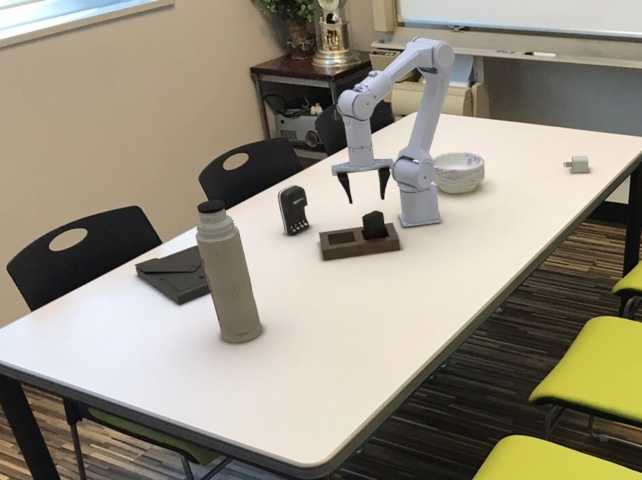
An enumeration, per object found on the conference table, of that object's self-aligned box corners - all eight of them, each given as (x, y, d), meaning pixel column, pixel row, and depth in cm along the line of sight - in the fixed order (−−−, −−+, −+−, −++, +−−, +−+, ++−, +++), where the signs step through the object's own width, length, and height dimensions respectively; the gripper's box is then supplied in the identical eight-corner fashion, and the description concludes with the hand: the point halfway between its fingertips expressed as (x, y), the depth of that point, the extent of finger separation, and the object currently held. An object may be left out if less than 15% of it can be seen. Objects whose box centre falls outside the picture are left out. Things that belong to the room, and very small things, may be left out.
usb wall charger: (587, 173, 228) (588, 159, 226) (563, 174, 229) (564, 160, 226) (586, 168, 232) (587, 154, 229) (562, 169, 232) (563, 155, 230)
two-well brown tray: (393, 232, 200) (392, 222, 199) (400, 249, 192) (399, 239, 191) (320, 242, 197) (318, 232, 196) (323, 260, 189) (321, 249, 187)
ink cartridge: (380, 239, 197) (377, 209, 193) (386, 241, 196) (383, 211, 192) (365, 246, 195) (361, 215, 190) (371, 248, 193) (367, 218, 189)
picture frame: (137, 275, 186) (179, 304, 174) (134, 264, 185) (176, 293, 172) (199, 252, 195) (243, 279, 183) (196, 242, 194) (240, 268, 181)
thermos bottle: (218, 344, 160) (183, 214, 144) (225, 323, 166) (192, 197, 150) (258, 341, 160) (227, 211, 144) (264, 320, 167) (235, 194, 151)
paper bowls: (495, 183, 225) (494, 155, 220) (465, 202, 215) (464, 173, 210) (451, 174, 232) (449, 147, 227) (420, 192, 222) (417, 164, 217)
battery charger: (294, 237, 200) (286, 194, 194) (283, 234, 202) (275, 191, 196) (314, 227, 205) (306, 184, 198) (303, 224, 207) (295, 182, 200)
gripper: (330, 153, 179) (338, 210, 187) (393, 146, 182) (399, 202, 190) (327, 144, 185) (335, 199, 193) (389, 137, 188) (394, 192, 195)
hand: (366, 200), depth 191 cm, fingers open, 7 cm apart
